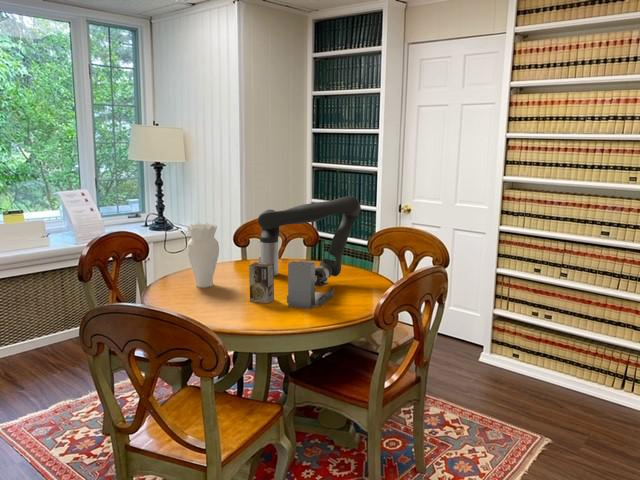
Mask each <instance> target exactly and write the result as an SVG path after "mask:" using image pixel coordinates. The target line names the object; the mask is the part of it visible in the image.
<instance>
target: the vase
mask: <svg viewBox="0 0 640 480" xmlns="http://www.w3.org/2000/svg"><path fill="white" fill-rule="evenodd" d="M217 229H218V226H217V225H216V224H215V223H211V224H210V223H208V222H205V223H204V224H202V223H200V222H197V223H194V224H189V225H188V226H187V230H188V232H189V235H190V237H191V238H190V239H189V240H188V242H187V243H186V244H187V246H186V247H187V248H186V251H187V257H188V260H189V263H190V266H191V269H192V272H193V275H194V278H195V286H196V287H197V286H199V287H198V288H210V287H213V286H214V275H215V271H216V266H217V264H218V259H219V254H220V245H219V241H218V239H216V238H215V235H216V232H217V231H216V230H217ZM209 286H210V287H209Z"/></svg>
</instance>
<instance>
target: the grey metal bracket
mask: <svg viewBox="0 0 640 480" xmlns="http://www.w3.org/2000/svg"><path fill="white" fill-rule="evenodd" d="M316 264H317V261H312V260H311V261H309V260H299V261H295V260H294V261H293V260H292V261H290V262H288V263H287V290H288V291H287V293H288V294H287V296H286V303H287V304H288V305H287V307H288V308H295V309H296V308H297V309H306V310H312V309H313V308H314V307H322V306H324V305H325V304H326V303H327V302H328V301H329V300H331V298H332V297H334V296H335V288H334V287H333V288H331V289H329V290H327V292H319V291H316V287H315V268H316V266H317V265H316Z"/></svg>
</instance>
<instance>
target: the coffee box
mask: <svg viewBox="0 0 640 480" xmlns="http://www.w3.org/2000/svg"><path fill="white" fill-rule="evenodd" d="M248 273H249V274H248V278H249V279H248V281H249V302H253V303H254V302H255V303H263V304H264V303H265V304H270V303H271V302H273V301H274V300H275V276H274V264H271V263H259V261H258V262H257V261H255V262H253V263H251V264H249V265H248Z"/></svg>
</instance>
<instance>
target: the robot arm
mask: <svg viewBox="0 0 640 480" xmlns="http://www.w3.org/2000/svg"><path fill="white" fill-rule="evenodd" d="M361 208H362V206H361V203H360V201H359V200H358V198H357V197H355V196H353V195H347V196H342V197H340V198H336V199H332V200H325V201H324V200H323V201H319V202H311V203H306V204H305V203H304V204H301V205H297V206H294V207H291V208H287V209H283V210H274V209H266V210H264V211H262V212H261V213H260V214H259V215H258V218H257V223H258V226H259V227H260V228H261V232H260V236H259V250H260V251H259V252H260V253H259V254H260V255H259V256H258V263H271V264H274V277H276V276H278V275H279V236H280V227H283V226H287V225H299V224H300V225H301V224H308V223H315V222H318V221H321V220H323V219H325V218H328V217H329V216H334V215H340V214H341V215H342V217H341V221H340V224H339V226H338V228H337V229H336V232H335V233H334V235H333V237H332V239H331V242H330V245H329V247H328V251H327V252H328V254H329V255H331V257H334V258H335V260H333V259H329V258H323V259H321V260H320V263H319V266H315V288H316V287H318V288H320V287H323V286H327V285H328V279H329V278H331V276H332V277H338V276H339V275H340V273H341V272H342V262H343V261H342V259H343V253H344V251H345V248H346V245H347V243H348V239H349V236H350V233H351V231H352V228H353V226H354V225H355V222H356V221H357V219H358V217H359V215H360V213H361V210H362V209H361Z"/></svg>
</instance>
